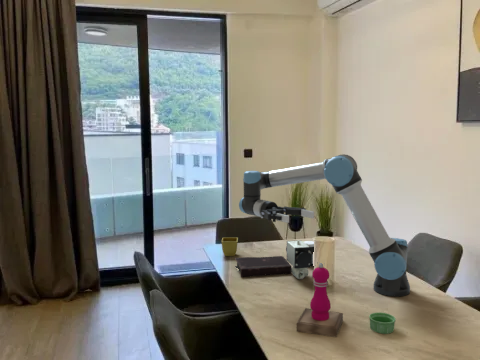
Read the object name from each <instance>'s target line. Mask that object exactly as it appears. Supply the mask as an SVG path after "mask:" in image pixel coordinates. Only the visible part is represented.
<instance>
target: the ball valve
mask: <svg viewBox="0 0 480 360" xmlns="http://www.w3.org/2000/svg"><path fill="white" fill-rule="evenodd" d="M285 253H286V260H287V261H288V263H289V264H290V265H291V267H292V269H291V272H292V273H291V275H293V276H294V277H295V278H296V279H297V280H303V279H304V278H305V277H308V276H309V269H310V268H311V267H310V264H312V253H310V247H309V244H307V243H304V241H302V240H299V239H298V240H297V239H296V240H287V241H286V247H285Z"/></svg>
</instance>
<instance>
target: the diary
mask: <svg viewBox="0 0 480 360" xmlns="http://www.w3.org/2000/svg"><path fill="white" fill-rule="evenodd" d="M234 260H235V261H236V265H234V268H235V267H236V268H238V269H239V271H238V272H240V278H247V277H248V278H249V277H250V276H251V277H264V276H277V275H278V276H279V275H292V272H291V269H292V267H293V266H292V265H291V264H290V263H289V262H288V261H287V258H285V257H284V256H283V255H275V256H259V257H256V256H254V257H253V256H246V257H245V256H243V257H235V258H234ZM236 268H235V269H236Z"/></svg>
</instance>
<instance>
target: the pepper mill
mask: <svg viewBox="0 0 480 360" xmlns="http://www.w3.org/2000/svg"><path fill="white" fill-rule="evenodd" d="M317 265H318V266H317V267H315V268H313V271H312V275H311V276H312V279H313V286H314V293H313V295H312V298H311V300H310V306H309V307H310V309H312V310H313V311H312V318H313V319H315V320H318V321H324V320H328V319H329V312H328V311H330V310H331V308H332V307H331V301H330V298H329V296H328V292H327V291H328V290H327V287H328V285H329V283H328V280H329V279H330V271H329V270H328V269H327V268H325V267H324V266H323V264H322V263H320V262H319V264H317Z"/></svg>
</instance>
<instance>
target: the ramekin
mask: <svg viewBox="0 0 480 360" xmlns="http://www.w3.org/2000/svg"><path fill="white" fill-rule="evenodd" d="M368 318H369V327H370V329H371V330H372V332H375V333H377V334H382V335H383V334H384V335H388V334H391V333H393V332H394V330H395V324H396V320H397V319H396V317H395V315H393V314H389V313H386V312H382V311H381V312H380V311H379V312H372V313H370V314H369V315H368Z"/></svg>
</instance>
